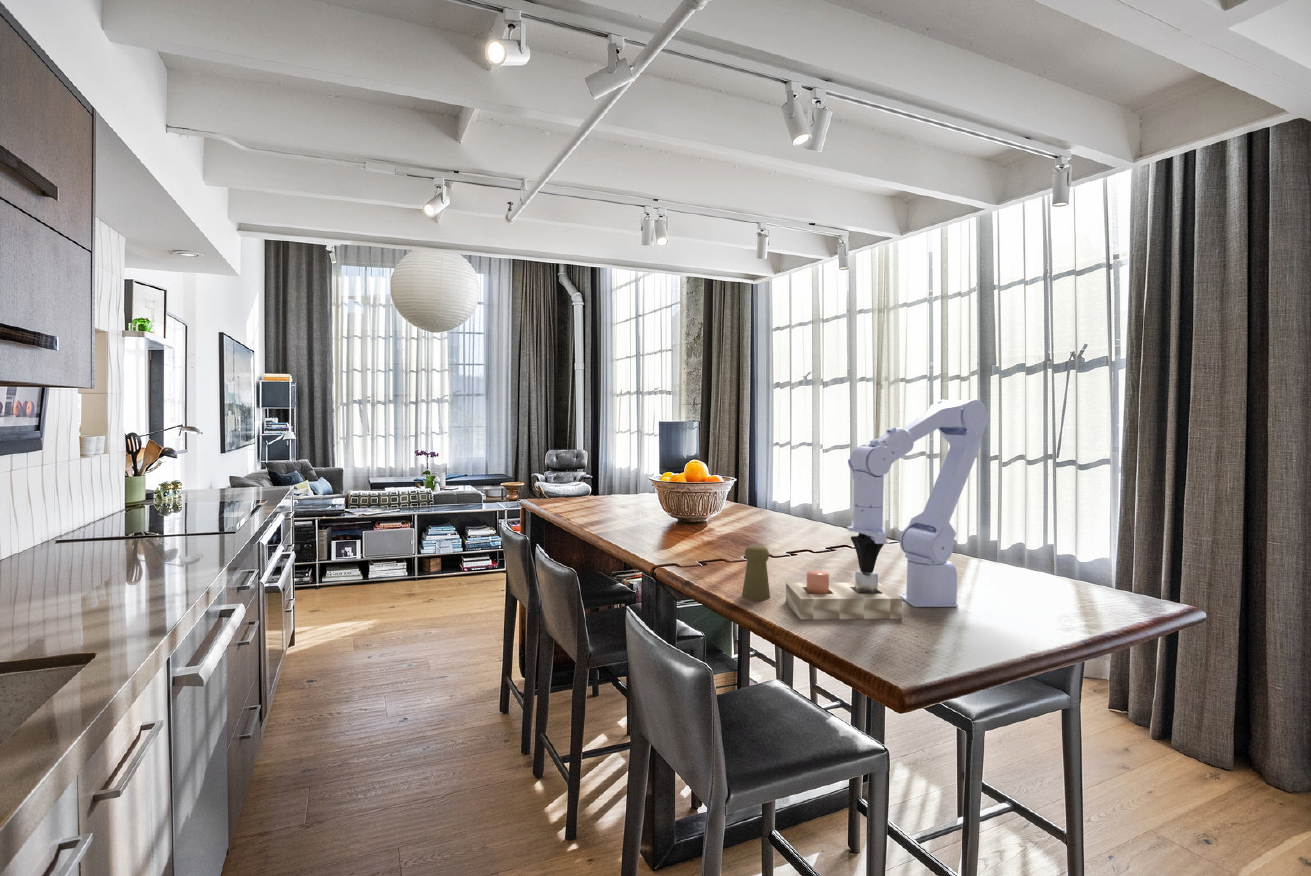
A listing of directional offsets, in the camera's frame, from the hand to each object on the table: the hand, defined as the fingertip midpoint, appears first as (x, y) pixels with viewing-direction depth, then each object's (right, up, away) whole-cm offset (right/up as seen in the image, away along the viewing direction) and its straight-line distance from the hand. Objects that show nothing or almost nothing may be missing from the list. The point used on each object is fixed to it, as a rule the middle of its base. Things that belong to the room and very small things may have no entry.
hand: (866, 572), depth 136 cm
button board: (-5, -8, 0) cm, 9 cm away
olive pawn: (-21, -7, +9) cm, 24 cm away
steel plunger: (0, -4, 0) cm, 4 cm away
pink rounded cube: (-10, -4, 0) cm, 11 cm away
